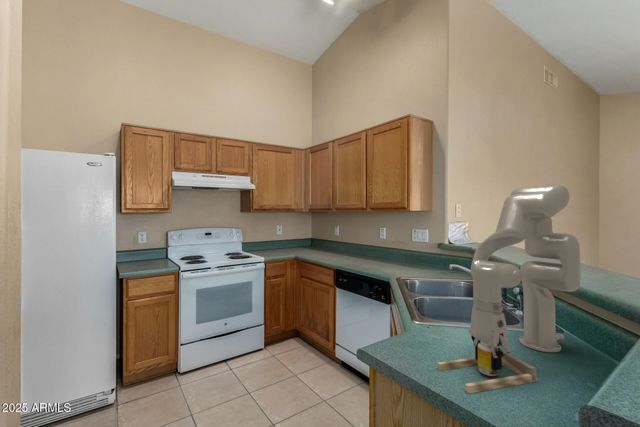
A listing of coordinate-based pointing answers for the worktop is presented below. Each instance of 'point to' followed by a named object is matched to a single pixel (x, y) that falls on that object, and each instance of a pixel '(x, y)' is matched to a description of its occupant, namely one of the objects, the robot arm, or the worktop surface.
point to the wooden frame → (514, 364)
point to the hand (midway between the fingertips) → (488, 363)
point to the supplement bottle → (485, 359)
